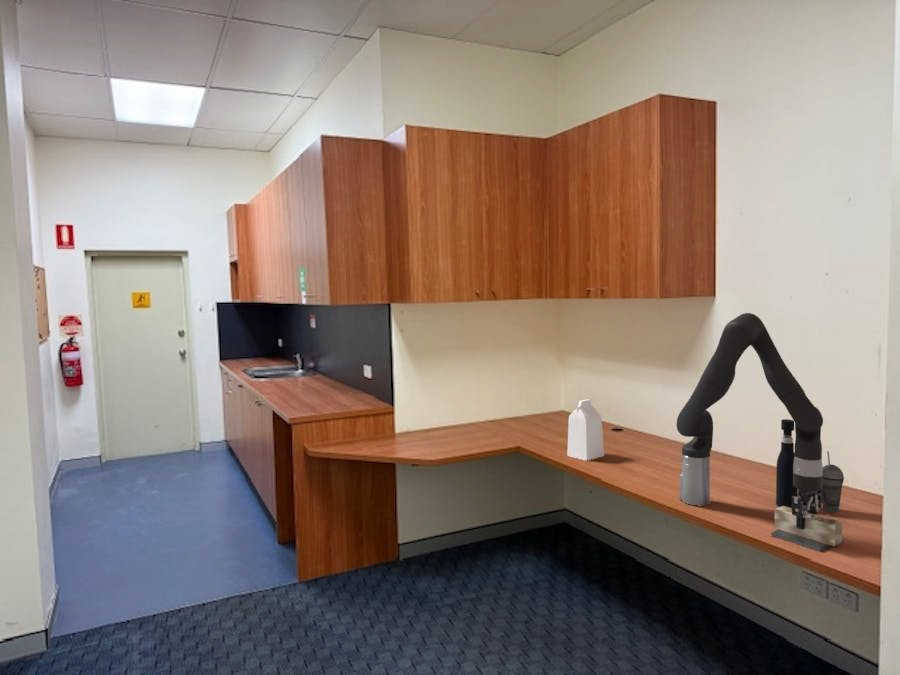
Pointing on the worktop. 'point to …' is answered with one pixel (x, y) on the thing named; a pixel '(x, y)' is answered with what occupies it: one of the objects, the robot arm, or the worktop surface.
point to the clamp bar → (810, 526)
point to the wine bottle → (785, 467)
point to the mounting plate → (801, 539)
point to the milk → (585, 432)
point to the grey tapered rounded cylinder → (831, 487)
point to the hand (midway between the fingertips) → (806, 525)
